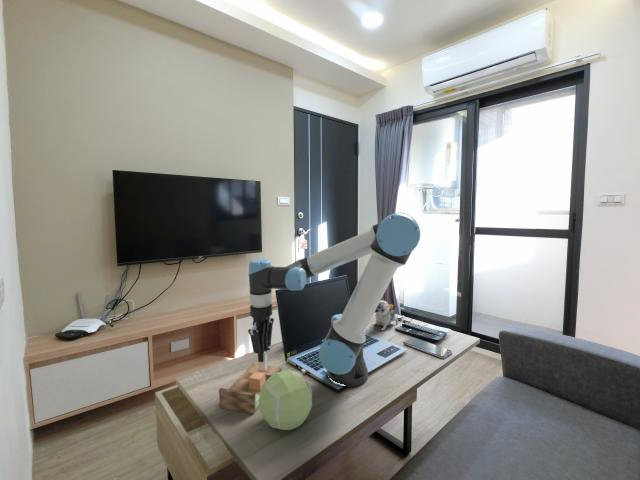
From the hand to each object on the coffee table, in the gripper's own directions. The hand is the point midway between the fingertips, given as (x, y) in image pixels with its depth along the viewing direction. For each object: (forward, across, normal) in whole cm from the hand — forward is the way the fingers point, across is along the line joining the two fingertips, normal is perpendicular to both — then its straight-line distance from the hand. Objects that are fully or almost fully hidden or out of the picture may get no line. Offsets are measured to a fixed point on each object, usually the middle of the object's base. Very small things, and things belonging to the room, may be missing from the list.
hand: (263, 368), depth 109 cm
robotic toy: (+6, -68, +31) cm, 75 cm away
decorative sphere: (+6, +14, +17) cm, 23 cm away
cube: (+3, +6, +2) cm, 7 cm away
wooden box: (+6, +4, -2) cm, 7 cm away
